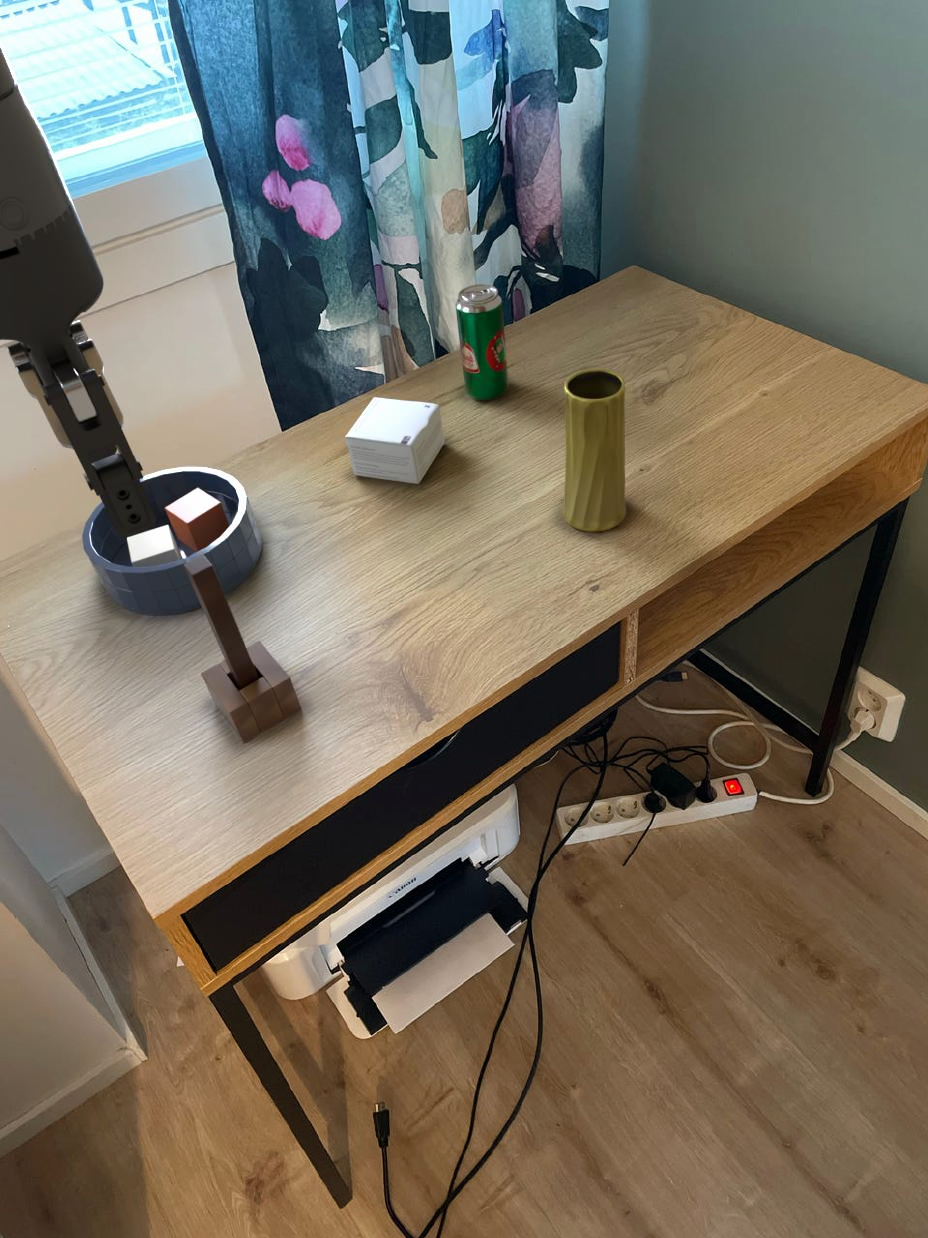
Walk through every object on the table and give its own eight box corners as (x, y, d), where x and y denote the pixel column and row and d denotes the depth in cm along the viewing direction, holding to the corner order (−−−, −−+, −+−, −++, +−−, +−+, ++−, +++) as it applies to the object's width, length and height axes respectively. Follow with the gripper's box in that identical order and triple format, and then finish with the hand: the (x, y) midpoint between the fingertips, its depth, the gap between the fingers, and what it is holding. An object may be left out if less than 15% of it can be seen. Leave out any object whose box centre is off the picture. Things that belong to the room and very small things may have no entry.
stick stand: (243, 744, 72) (229, 713, 69) (215, 704, 75) (200, 673, 72) (301, 708, 74) (290, 677, 71) (271, 671, 77) (259, 640, 74)
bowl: (140, 641, 81) (117, 598, 77) (82, 556, 91) (59, 514, 87) (289, 561, 87) (275, 518, 83) (220, 490, 96) (204, 447, 92)
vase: (553, 503, 89) (548, 376, 79) (609, 486, 90) (611, 358, 80) (578, 540, 85) (576, 410, 75) (637, 521, 86) (643, 391, 76)
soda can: (460, 385, 106) (448, 288, 97) (500, 375, 107) (492, 278, 98) (473, 407, 103) (462, 308, 94) (514, 396, 103) (507, 297, 95)
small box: (381, 434, 101) (373, 394, 97) (446, 443, 98) (440, 402, 94) (352, 476, 96) (342, 435, 92) (419, 486, 93) (412, 445, 90)
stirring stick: (253, 717, 74) (192, 575, 62) (245, 705, 75) (182, 564, 63) (270, 707, 74) (212, 565, 63) (262, 695, 75) (203, 554, 64)
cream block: (146, 593, 85) (131, 562, 82) (141, 568, 88) (126, 537, 85) (188, 580, 86) (174, 548, 83) (181, 555, 88) (168, 524, 85)
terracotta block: (200, 554, 88) (187, 523, 85) (177, 538, 90) (164, 507, 87) (232, 533, 90) (220, 502, 87) (210, 518, 92) (197, 487, 89)
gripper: (-115, 191, 45) (31, 458, 56) (-81, 291, 35) (85, 586, 47) (35, 149, 47) (146, 415, 58) (104, 234, 38) (219, 529, 49)
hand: (119, 491), depth 53 cm, fingers open, 8 cm apart
